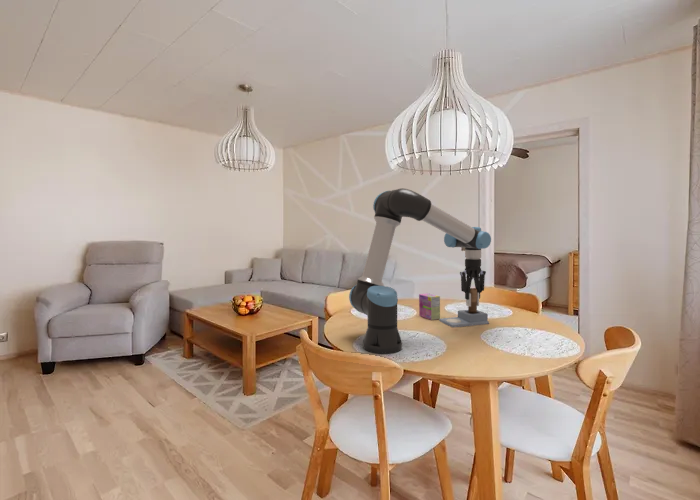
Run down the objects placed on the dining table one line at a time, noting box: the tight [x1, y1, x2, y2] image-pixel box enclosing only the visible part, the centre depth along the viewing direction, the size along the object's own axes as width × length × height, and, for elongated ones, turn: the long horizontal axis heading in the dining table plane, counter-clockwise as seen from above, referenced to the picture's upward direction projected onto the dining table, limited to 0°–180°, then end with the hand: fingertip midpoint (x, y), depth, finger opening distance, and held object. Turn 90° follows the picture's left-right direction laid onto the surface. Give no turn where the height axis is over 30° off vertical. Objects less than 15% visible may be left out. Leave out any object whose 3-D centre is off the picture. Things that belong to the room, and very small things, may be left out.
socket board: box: [438, 309, 490, 328], centre depth 171 cm, size 12×20×5 cm, turn 106°
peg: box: [467, 287, 478, 314], centre depth 172 cm, size 4×4×12 cm
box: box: [418, 292, 441, 321], centre depth 181 cm, size 10×6×12 cm, turn 25°
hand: (472, 305), depth 172 cm, fingers closed on peg, 4 cm apart
